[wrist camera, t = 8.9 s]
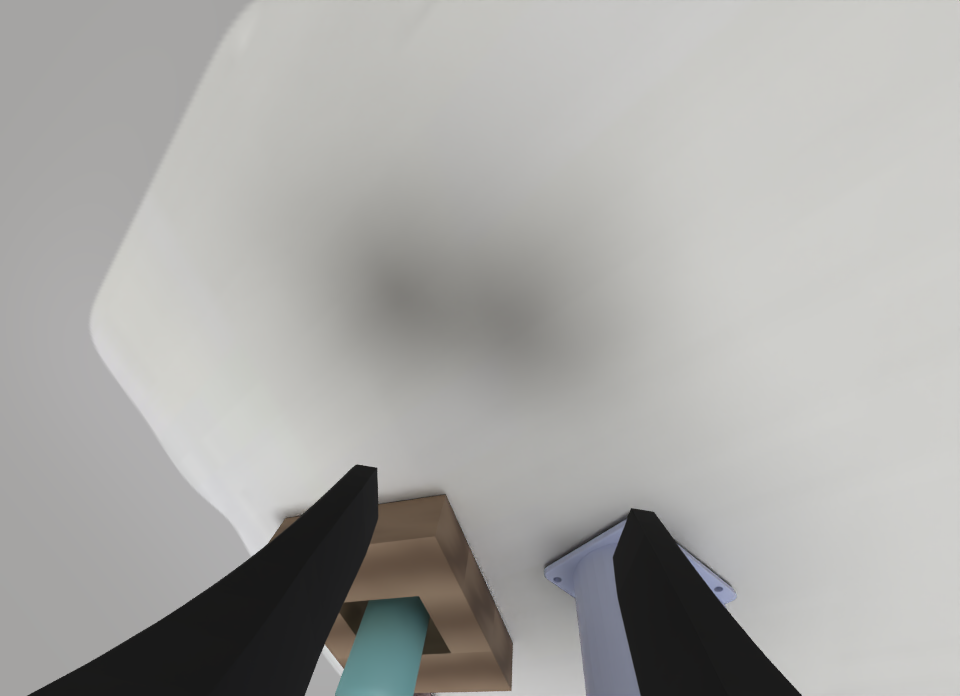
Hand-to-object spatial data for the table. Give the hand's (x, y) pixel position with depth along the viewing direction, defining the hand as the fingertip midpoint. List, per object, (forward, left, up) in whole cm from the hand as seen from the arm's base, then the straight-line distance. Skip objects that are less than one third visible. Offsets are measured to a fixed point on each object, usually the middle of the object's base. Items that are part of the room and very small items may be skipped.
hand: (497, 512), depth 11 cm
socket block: (-7, +19, -9) cm, 22 cm away
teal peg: (-7, +19, -9) cm, 22 cm away
